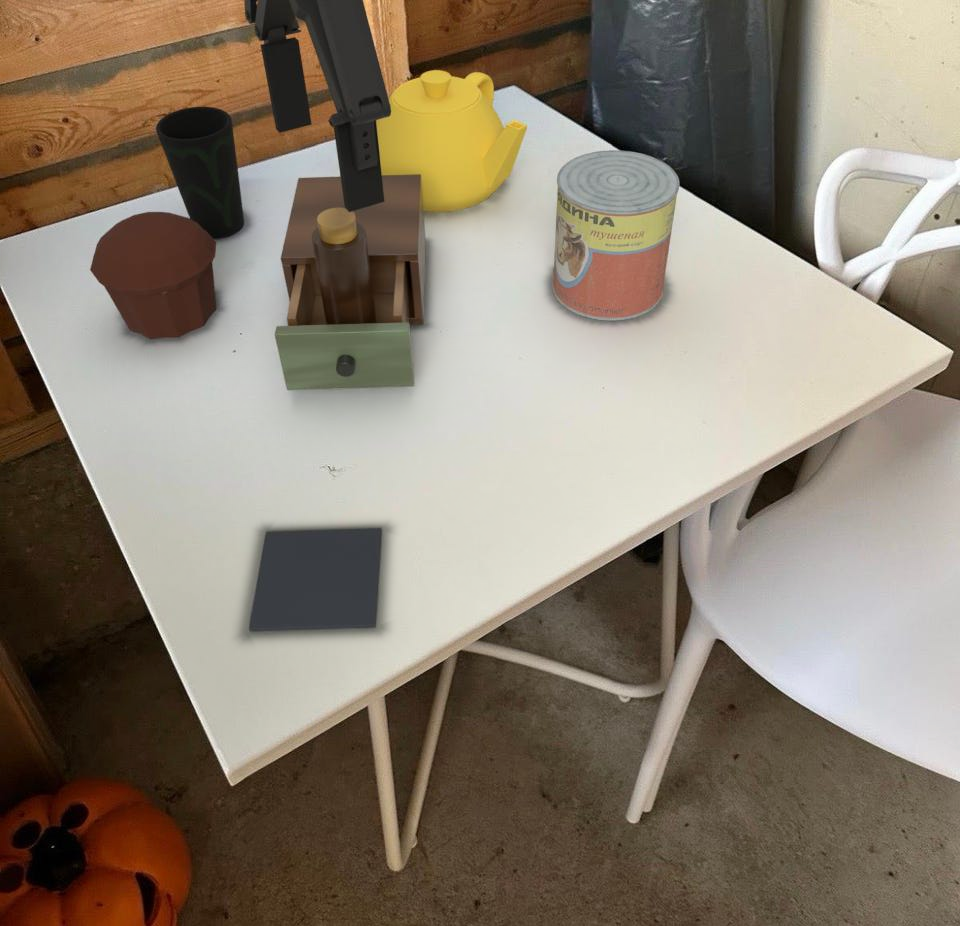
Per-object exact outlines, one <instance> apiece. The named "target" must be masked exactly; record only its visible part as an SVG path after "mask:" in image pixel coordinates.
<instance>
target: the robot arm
mask: <svg viewBox="0 0 960 926" xmlns="http://www.w3.org/2000/svg"><path fill="white" fill-rule="evenodd" d="M243 1H244V3H243V4H244V17H245V19H246V20H247V22H248V24H249V25H252V24H254V34H255V37H257V40H258V41H259V42H262V41H263V44H260V50H261V56H262V61H263V66H264V71H265V78H266V83H267V88H268V94H269V99H270V103H271V104H270V105H271V109H272V115H273V121H274V126H275V130H276V131H277V132H278V134H281V133H286V132H288V131H293V130H296V129H301V128H304V127H308V126H312V118H311V111H310V104H309V99H308V92H307V86H306V80H305V73H304V67H303V60H302V54H301V53H302V52H301V47H300V41H299V40H298V38H296V37H295V36H294V37H293V36H292V37H289V38H287V36H290V35H294V34H299V33H301V32H302V29H300V28H301V27H300V25H299V22H298V20H297V19H299V20H301V21H303V22H304V24H305V27H306V29H307V32H308V34H309V37H310V40H311V43H312V46H313V48H314V51H315V54H316V57H317V60H318V63H319V65H320V68H321V71H322V74H323V76H324V80H325V83H326V85H327V87H328V91H329V93H330V96H331V100H332V102H333V104H334V107H335V110H336V113H332V114H331V116H330V117H329V118H328V120H327V121H328V123H329V125H330V127H331V128H333V133H334V139H335V140H334V141H335V146H336V147H335V148H336V155H337V161H338V168H339V175H340V176H339V177H341V184H342V191H343V198H344V205H345V208H346V209H347V210H348V212H352V211H355V210H358V209H362V208H365V207H368V206H372V205H375V204H379V203H382V202H384V192H383V182H382V173H381V163H380V153H379V144H378V134H377V125H376V123H377V121H378V119H382V118H386V117H389V116H390V115H391V106H390V103H389V96H388V93H387V88H386V85H385V81H384V75H383V72H382V69H381V65H380V61H379V56H378V54H377V49H376V45H375V42H374V41H375V40H374V38H373V34H372V30H371V26H370V22H369V19H368V15H367V11H366V7H365V3H364V0H243Z"/></svg>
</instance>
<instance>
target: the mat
mask: <svg viewBox="0 0 960 926" xmlns="http://www.w3.org/2000/svg"><path fill="white" fill-rule="evenodd" d="M382 532H383V531H382V527H375V528H370V527H369V528H342V529H341V528H338V529H337V528H336V529H310V530H309V529H308V530H307V529H306V530H304V529H303V530H275V531H265V534H264V541H263V546H262V551H261V558H260V563H259V569H258V573H257V579H256V586H255V592H254V596H253V603H252V608H251V614H250V619H249V626H248V631H249V632H279V631H310V630H311V631H312V630H314V631H315V630H339V629H340V630H341V629H342V630H345V629H347V630H348V629H374V628H376V626H377V625H376V624H377V611H378V608H377V607H378V596H379V595H378V593H379V580H380V579H379V578H380V577H379V576H380V563H381V548H382V547H381V546H382Z"/></svg>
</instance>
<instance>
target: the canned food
mask: <svg viewBox="0 0 960 926" xmlns="http://www.w3.org/2000/svg"><path fill="white" fill-rule="evenodd" d="M556 184H557V192H556V193H557V194H556V195H557V196H556V214H555V215H556V217H555V236H554V237H555V238H554V254H553V255H554V257H553V260H554V261H553V277H552V280H551V281H552V282H551V290H552V293H553V295H554V297H555V299H556V300H557V301H558V302H559V304H561V305H562V306H563V307H564V308H566V309H567V310H569V311H570V312H572V313H573V314H577V315H579V316H580V317H581V316H582V317H584V318H588V319H592V320H599V321H609V322H610V321H612V322H613V321H614V322H615V321H624V320H631V319H635V318H638V317H641V316H643V315H645V314H648V313H649V312H651V311H652V310H653V309H655V308H656V307H657V306H658V305H659V303H661V300H662V299H663V296H664V288H665V287H664V285H665V278H666V270H667V263H668V257H669V250H670V244H671V238H672V231H673V223H674V216H675V210H676V205H677V204H676V203H677V197H678V193H679V191H680V178H679V176H678V174H677V173H676V171H675V170H674V169H673V168H672V167H671V166H670V165H668V164H667V163H665V162H664V161H662V160H661V159H658V158H657V157H653V156H651V155H649V154H645V153H641V152H636V151H629V150H599V151H593V152H589V153H584V154H581V155H579V156H576V157H574V158H573V159H570V160H569V161H567V162H566V163H565V164H564V165H562V166H561V167H560V169H559V171H558V173H557V175H556Z"/></svg>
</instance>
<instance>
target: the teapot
mask: <svg viewBox="0 0 960 926" xmlns="http://www.w3.org/2000/svg"><path fill="white" fill-rule="evenodd" d="M494 98H495V85H494V82H493V80H492V77H490V75H488V74H486V73H483V72H480V71H474V72H471V73H468V75H466V77H465V78H462V77H458V76H452V75H451V74H450V72H448V71H445V70H440V69H433V70H429V71H425V72H423V73H422V74H421V75H420V77H416V78H413V79H410V80H408V81H405V82H403V83H402V84H400V85H399V86H398V87H397V88H395V90H394V91H393V92H392V93H391V95H390V96H389V97H388V99H389V103H390V106H391V115H390V116H389V117H386V118H382V119H378V120H376V125H377V134H378V144H379V153H380V163H381V173H382V175H413V174H421V182H422V195H423V210H424V212H430V213H445V212H454V211H460V210H464V209H467V208H470V207H474V206H476V205H479V204H480V203H482V202H484V201H485V200H487V199H488V198H489V197H491V196H492V195H493V194H494V193H495V192H496V191H497V190H498V189H499V188H500V187H501V186H502V184H503V183H504V182H505V181H506V179H507V178H510V177H511V174H512V171H513V168H514V165H515V162H516V160H517V157H518V154H519V152H520V149H521V146H522V144H523V141H524V138H525V135H526V132H527V130H528V125H527V124H525V123H522V122H520V121H518V120H516V119H513V120H511V121H509V122H508V123H506V124H503V122H502V120H501V118H500V117H499V115H498V113H497V112H496V110H495V109H494V107H493V106H494ZM504 125H505V127H504Z"/></svg>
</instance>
